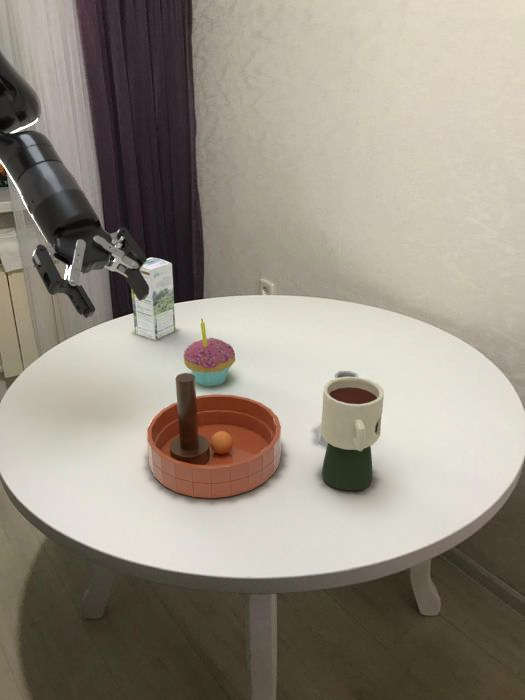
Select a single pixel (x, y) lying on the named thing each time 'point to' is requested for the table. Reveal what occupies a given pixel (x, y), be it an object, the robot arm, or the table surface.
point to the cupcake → (209, 359)
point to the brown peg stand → (188, 425)
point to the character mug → (350, 430)
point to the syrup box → (155, 301)
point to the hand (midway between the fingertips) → (119, 305)
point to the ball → (221, 442)
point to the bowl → (222, 469)
